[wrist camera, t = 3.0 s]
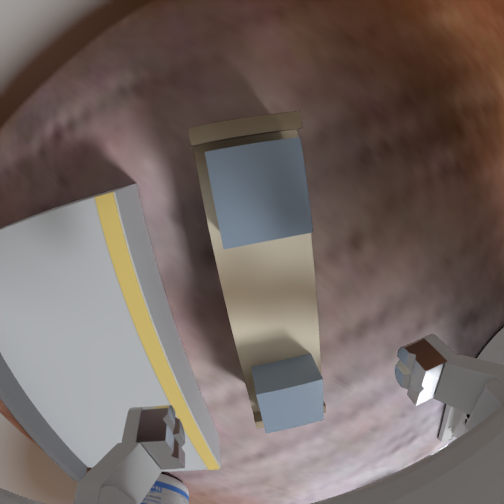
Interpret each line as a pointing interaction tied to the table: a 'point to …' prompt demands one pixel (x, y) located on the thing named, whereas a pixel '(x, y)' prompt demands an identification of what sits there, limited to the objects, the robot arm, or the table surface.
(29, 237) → the dock
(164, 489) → the supplement tub
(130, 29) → the table surface
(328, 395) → the table surface
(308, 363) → the block
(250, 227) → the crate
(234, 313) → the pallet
